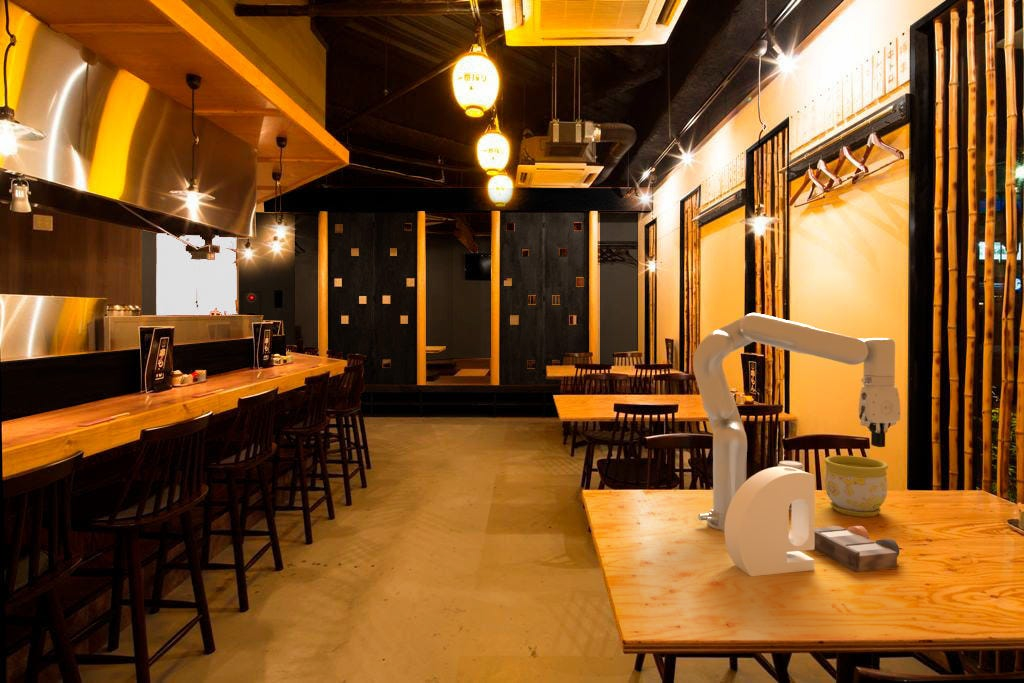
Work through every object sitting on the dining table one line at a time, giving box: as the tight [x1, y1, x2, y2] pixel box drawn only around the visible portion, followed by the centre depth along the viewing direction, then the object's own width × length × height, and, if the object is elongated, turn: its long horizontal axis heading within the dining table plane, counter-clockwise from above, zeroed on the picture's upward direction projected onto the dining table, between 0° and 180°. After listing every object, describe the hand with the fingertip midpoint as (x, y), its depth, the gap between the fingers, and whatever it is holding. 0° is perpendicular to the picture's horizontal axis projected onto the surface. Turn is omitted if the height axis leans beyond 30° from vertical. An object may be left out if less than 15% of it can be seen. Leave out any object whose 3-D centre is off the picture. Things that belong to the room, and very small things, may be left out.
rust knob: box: [822, 525, 870, 540], centre depth 163 cm, size 13×5×5 cm, turn 101°
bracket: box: [723, 466, 816, 577], centre depth 149 cm, size 7×21×25 cm, turn 101°
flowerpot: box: [824, 455, 889, 518], centre depth 193 cm, size 18×18×16 cm
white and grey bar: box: [848, 538, 900, 558], centre depth 153 cm, size 13×5×5 cm, turn 101°
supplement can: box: [776, 460, 805, 511], centre depth 198 cm, size 8×8×15 cm
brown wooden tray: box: [814, 525, 898, 573], centre depth 157 cm, size 12×20×5 cm, turn 11°
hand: (878, 446), depth 166 cm, fingers closed
